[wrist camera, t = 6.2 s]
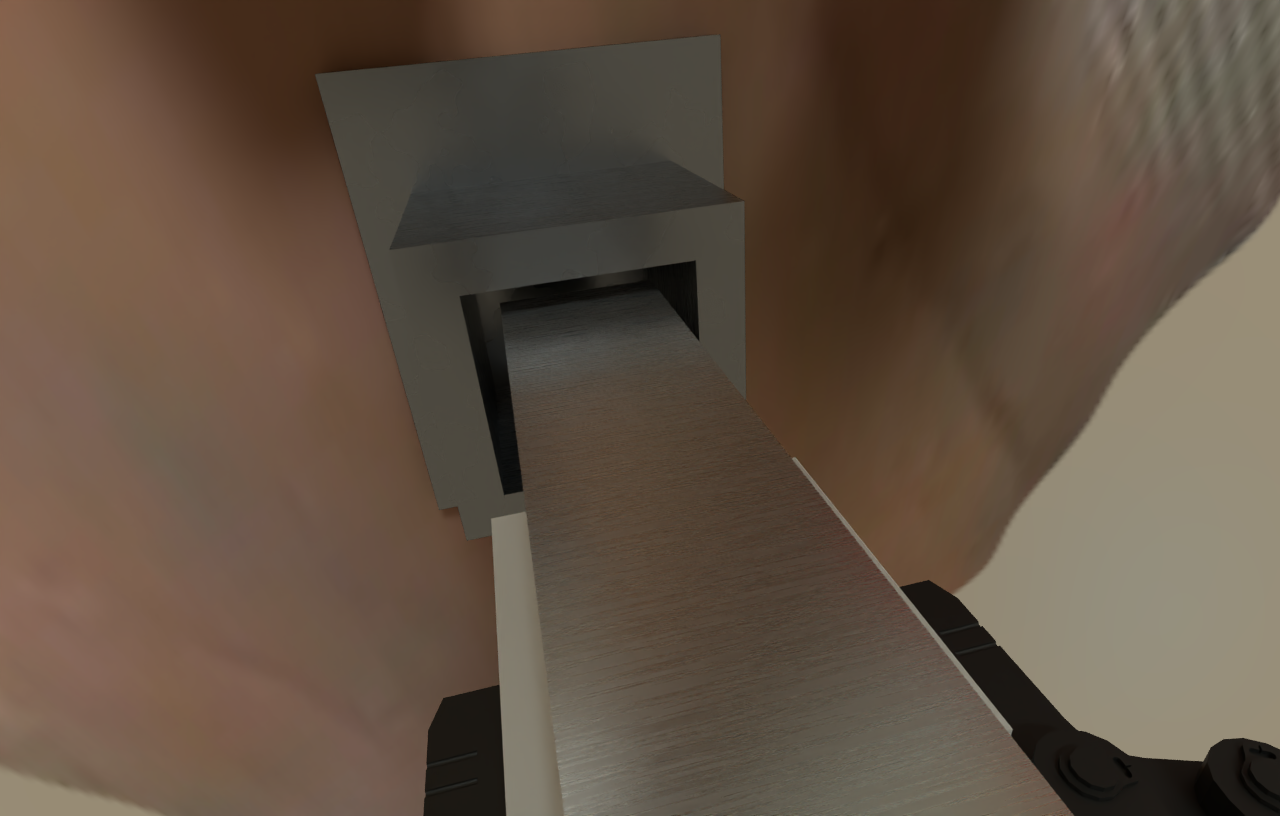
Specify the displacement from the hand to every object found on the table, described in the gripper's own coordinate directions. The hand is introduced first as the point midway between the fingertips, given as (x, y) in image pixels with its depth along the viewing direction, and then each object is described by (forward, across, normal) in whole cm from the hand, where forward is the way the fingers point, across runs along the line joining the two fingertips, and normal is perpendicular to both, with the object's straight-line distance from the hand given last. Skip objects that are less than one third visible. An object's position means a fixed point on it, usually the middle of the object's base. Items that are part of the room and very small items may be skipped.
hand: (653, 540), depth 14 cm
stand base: (+17, 0, 0) cm, 17 cm away
